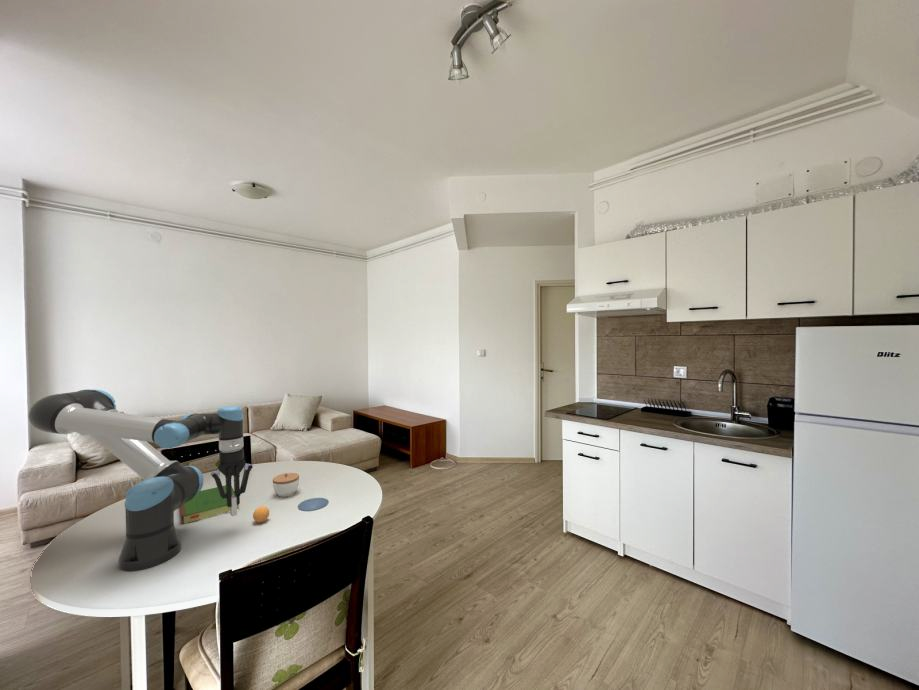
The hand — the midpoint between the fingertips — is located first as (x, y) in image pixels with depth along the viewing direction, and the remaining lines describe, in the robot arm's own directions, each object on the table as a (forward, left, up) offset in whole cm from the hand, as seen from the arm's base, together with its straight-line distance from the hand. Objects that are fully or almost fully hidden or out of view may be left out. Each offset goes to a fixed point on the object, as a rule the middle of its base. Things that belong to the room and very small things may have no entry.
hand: (233, 514), depth 132 cm
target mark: (+29, 0, -6) cm, 30 cm away
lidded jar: (+25, +19, -6) cm, 32 cm away
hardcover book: (-2, +30, -7) cm, 31 cm away
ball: (+9, 0, -3) cm, 10 cm away
